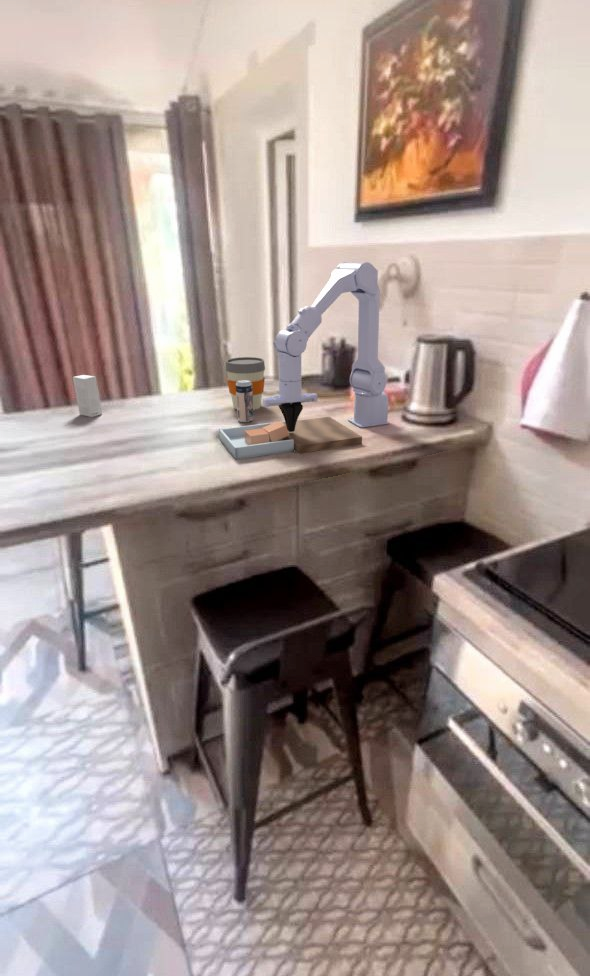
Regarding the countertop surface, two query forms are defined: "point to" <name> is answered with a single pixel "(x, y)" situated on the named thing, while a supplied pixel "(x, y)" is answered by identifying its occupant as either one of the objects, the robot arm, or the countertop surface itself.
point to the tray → (240, 449)
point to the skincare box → (87, 395)
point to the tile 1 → (256, 436)
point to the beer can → (244, 400)
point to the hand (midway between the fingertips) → (290, 430)
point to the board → (321, 435)
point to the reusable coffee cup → (246, 377)
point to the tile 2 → (276, 431)
